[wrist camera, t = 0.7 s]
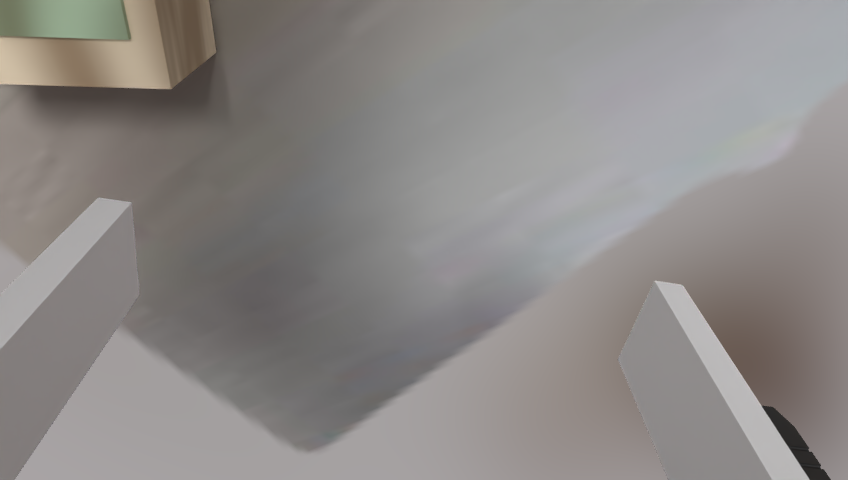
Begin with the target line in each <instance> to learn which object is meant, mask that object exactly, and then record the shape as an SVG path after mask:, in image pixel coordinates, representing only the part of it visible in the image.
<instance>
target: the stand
mask: <svg viewBox="0 0 848 480" xmlns="http://www.w3.org/2000/svg"><path fill="white" fill-rule="evenodd" d="M215 53H216V46H215V39H214V32H213V25H212V18H211V11H210V4H209V0H0V84H16V85H48V86H80V87H113V88H145V89H172V88H173V87H175V86H176V85H177V84H178V83H180V82H181V81H182V80H183V79H184V78H186V77H187V76H188V75H189V74H191V73H192V72H193V71H194V70H195V69H197V68H198V67H199V66H200V65H202V64H203V63H204V62H205V61H206V60H208V59H209V58H210V57H211V56H213V55H214V54H215Z"/></svg>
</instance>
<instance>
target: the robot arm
mask: <svg viewBox="0 0 848 480" xmlns="http://www.w3.org/2000/svg"><path fill="white" fill-rule="evenodd" d="M139 295H140V292H139V281H138V269H137V257H136V246H135V234H134V222H133V210H132V202H126V201H119V200H112V199H105V198H99V197H98V198H97V199H96V200H95V201H94V202H93V203H92V204H91V205H90V206H89V207H88V208H87V209H86V210H85V211H84V212H83V213H82V214H81V215H80V216H79V217H78V218H77V219H76V220H75V221H74V222H73V223H72V224H71V225H70V226H69V227H68V228H67V229H66V230H65V231H64V232H63V233H62V234H61V235H60V236H59V237H58V238H57V239H56V240H55V241H54V242H53V243H52V244H51V245H50V246H49V247H48V248H47V249H45V250H44V251H43V252H42V253H41V254H40V255H39V256H38V257H37V258H36V259H35V260H34V261H33V262H32V263H31V264H30V265H29V266H28V267H27V268H26V269H25V270H24V271H23V272H22V273H21V274H20V275H19V276H18V277H17V278H16V279H15V280H14V281H13V282H12V283H11V284H10V285H9V286H8V287H7V288H6V289H5V290H4V291H3V292H2V293H1V294H0V480H15V478H16V477H17V475H18V474H19V472H20V471H21V469H22V468H23V467H24V465H25V464H26V462H27V461H28V459H29V458H30V456H31V455H32V453H33V452H34V450H35V449H36V447H37V446H38V444H39V443H40V441H41V440H42V438H43V437H44V435H45V434H46V433H47V431H48V429H49V428H50V427H51V425H52V424H53V422H54V421H55V419H56V418H57V416H58V415H59V413H60V412H61V410H62V409H63V407H64V406H65V404H66V403H67V401H68V400H69V398H70V397H71V396H72V394H73V393H74V391H75V390H76V388H77V387H78V385H79V384H80V382H81V381H82V379H83V378H84V376H85V375H86V373H87V372H88V370H89V369H90V367H91V366H92V364H93V363H94V361H95V360H96V358H97V357H98V356H99V354H100V353H101V351H102V350H103V348H104V347H105V345H106V344H107V342H108V341H109V339H110V338H111V336H112V335H113V333H114V332H115V330H116V329H117V328H118V326H119V325H120V323H121V322H122V320H123V319H124V317H125V316H126V314H127V313H128V311H129V310H130V308H131V307H132V305H133V304H134V302H135V301H136V299H137V298H138V296H139ZM618 361H619V363H620V366H621V368H622V370H623V373H624V375H625V378H626V380H627V382H628V385H629V387H630V389H631V392H632V394H633V397H634V399H635V402H636V404H637V406H638V409H639V411H640V414H641V416H642V418H643V421H644V423H645V426H646V428H647V430H648V433H649V435H650V437H651V440H652V442H653V445H654V447H655V450H656V452H657V454H658V457H659V459H660V462H661V464H662V467H663V469H664V471H665V473H666V476H667V479H668V480H831V479H830V478H829V477H828V475H827V473H826V472H825V471H824V470H823V469H821V468H820V466H821V465H820V464H819V462H818V460H817V459H816V458H815V456H814V455H813V453H812V452H809V450H808V449H809V447H808V446H807V445H806V443H805V441H804V440H803V439H802V437H801V436H800V435H799V433H798V431H797V430H796V428H795V427H794V426H793V425H792V424H791V423H790V422H789V421H788V420H786V419H785V418H784V417H783V416H782V415H781V414H780V413H779V412H778V411H777V410H776V409H774V408H773V407H767V406H761V405H760V403H759V402H758V400H757V399H756V397H755V395H754V394H753V392H752V391H751V389H750V388H749V386H748V385H747V383H746V382H745V380H744V379H743V377H742V376H741V374H740V373H739V371H738V369H737V368H736V366H735V365H734V363H733V362H732V360H731V359H730V357H729V356H728V354H727V352H726V351H725V349H724V348H723V346H722V345H721V343H720V342H719V340H718V339H717V337H716V336H715V334H714V333H713V331H712V329H711V328H710V326H709V325H708V323H707V322H706V320H705V319H704V317H703V316H702V314H701V313H700V311H699V310H698V308H697V307H696V305H695V303H694V302H693V300H692V299H691V297H690V296H689V294H688V293H687V291H686V290H685V288H684V287H683V285H680V284H674V283H667V282H660V281H654V283H653V285H652V287H651V290H650V292H649V294H648V296H647V298H646V300H645V302H644V304H643V306H642V309H641V311H640V313H639V315H638V317H637V319H636V321H635V324H634V326H633V328H632V330H631V332H630V334H629V337H628V339H627V341H626V343H625V345H624V347H623V349H622V352H621V354H620V356H619V358H618Z"/></svg>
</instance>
